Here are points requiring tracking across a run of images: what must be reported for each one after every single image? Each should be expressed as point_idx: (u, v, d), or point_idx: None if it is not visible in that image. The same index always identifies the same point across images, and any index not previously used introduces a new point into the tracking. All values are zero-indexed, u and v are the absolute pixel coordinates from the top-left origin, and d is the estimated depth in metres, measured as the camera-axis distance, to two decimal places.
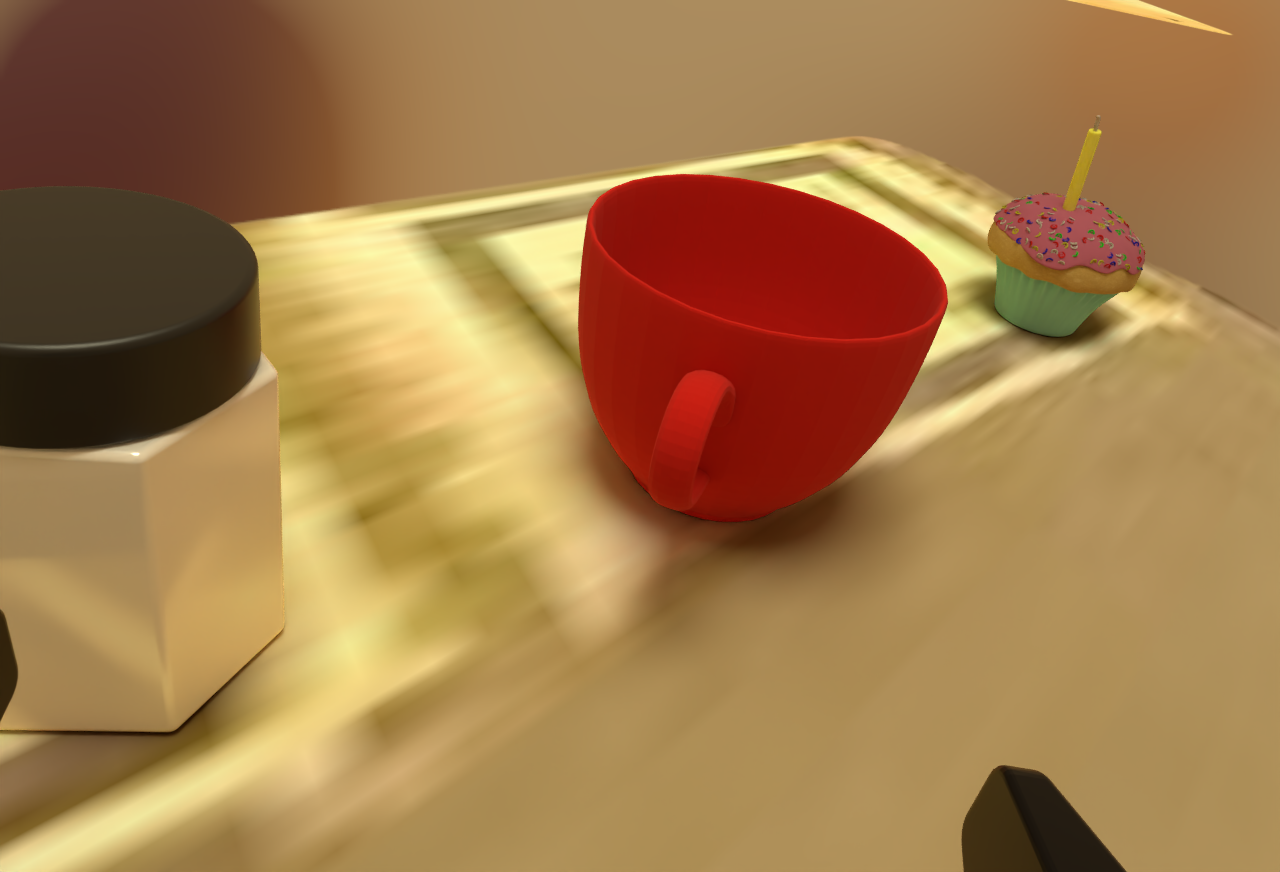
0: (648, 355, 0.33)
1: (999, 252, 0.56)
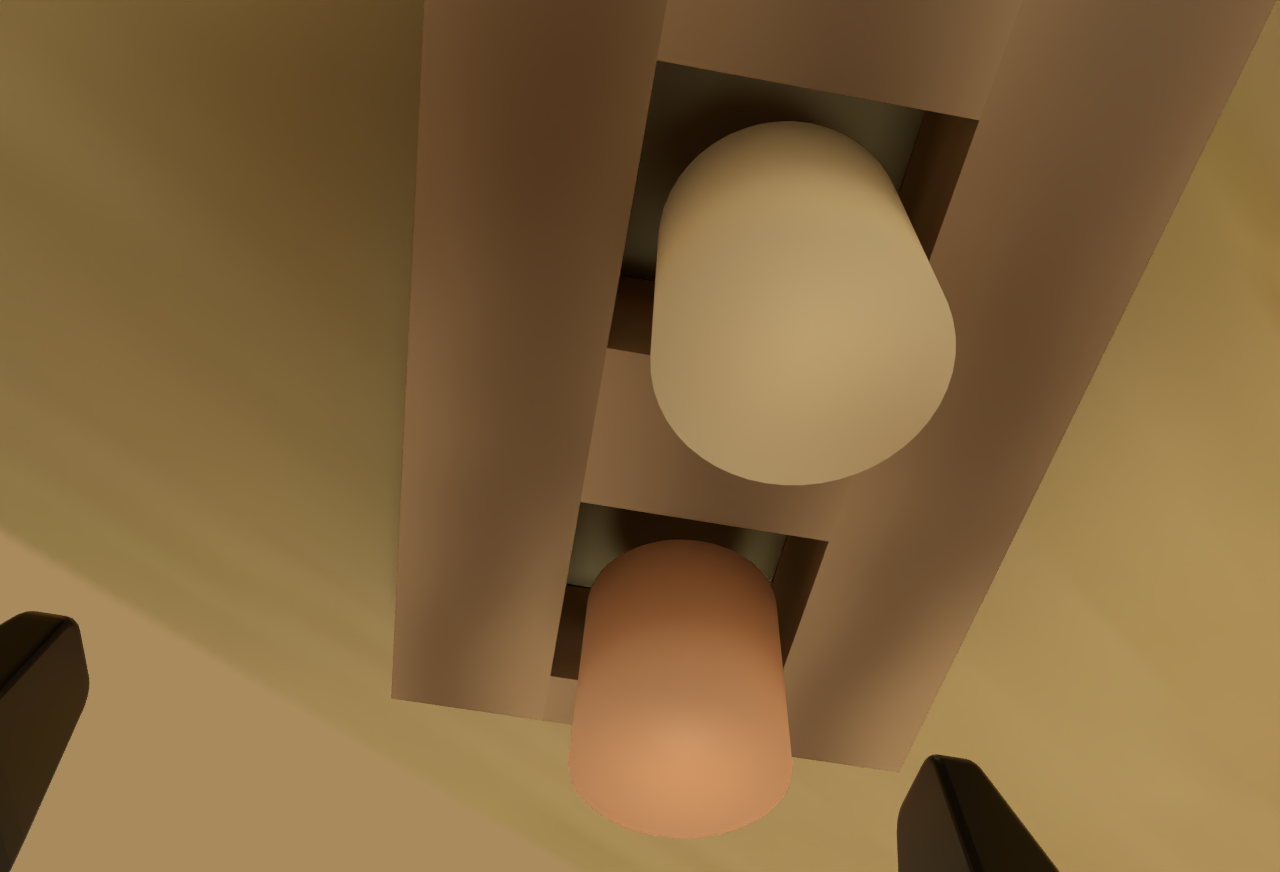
0: None
1: None
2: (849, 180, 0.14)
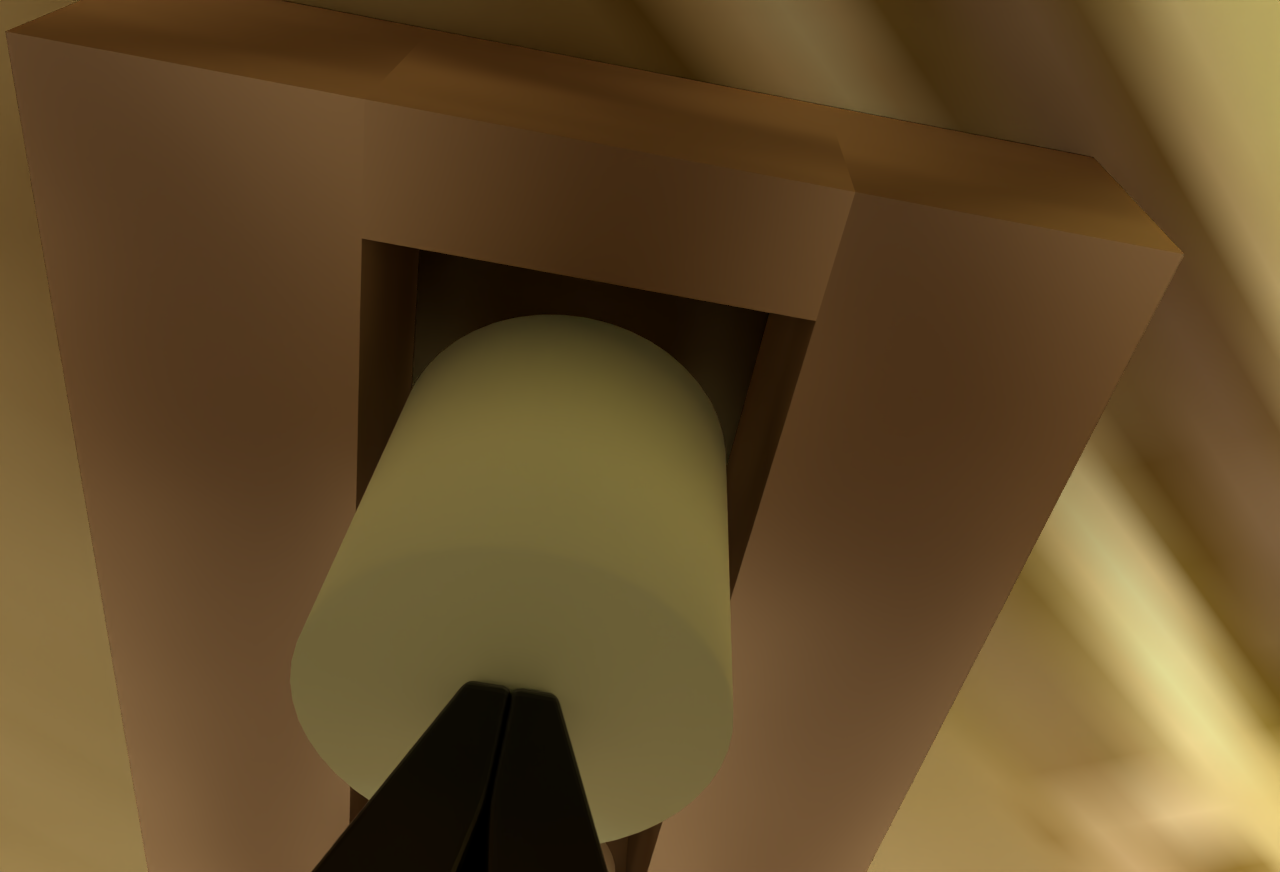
0: None
1: None
2: None
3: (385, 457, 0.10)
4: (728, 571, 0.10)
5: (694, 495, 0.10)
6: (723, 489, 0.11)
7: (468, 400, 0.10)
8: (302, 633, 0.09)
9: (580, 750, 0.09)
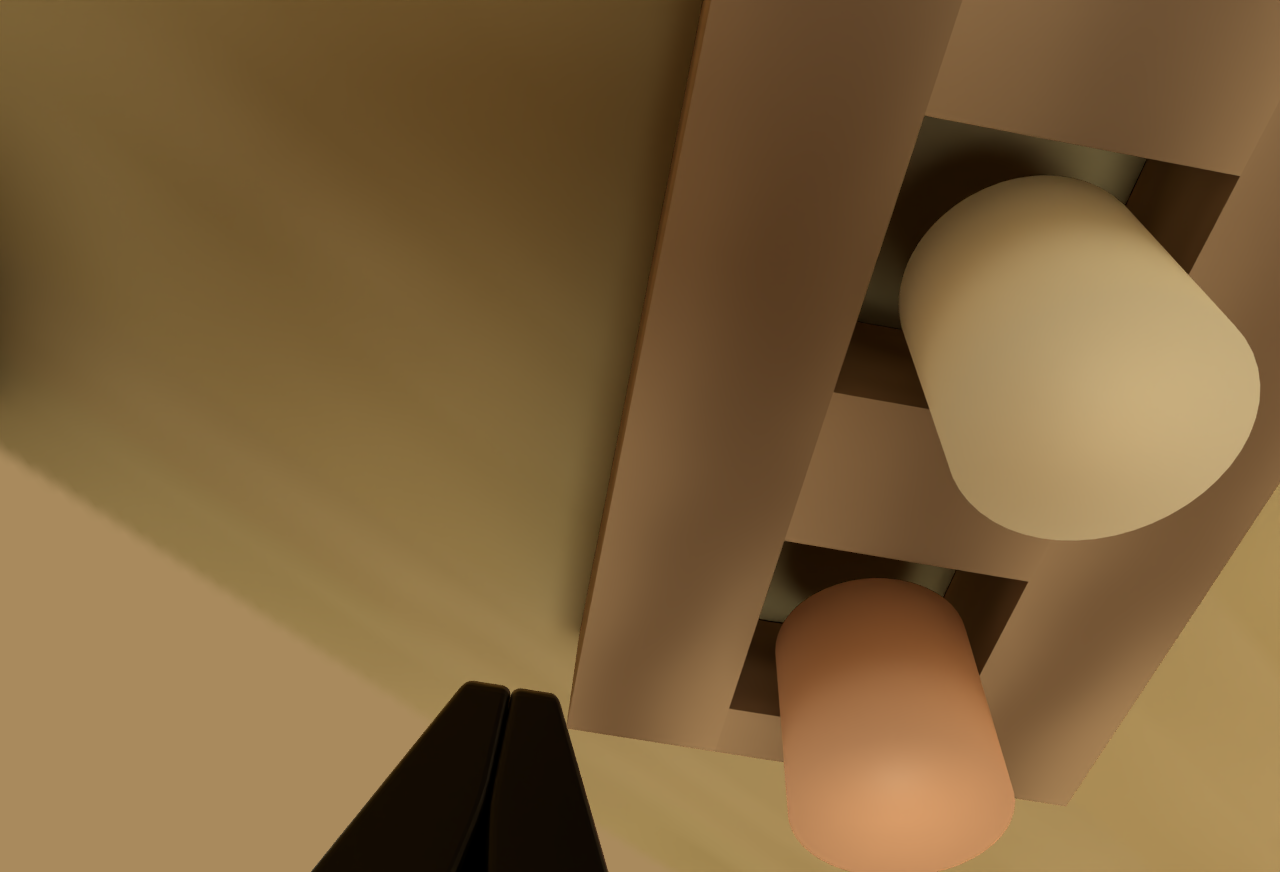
0: None
1: None
2: (1140, 241, 0.14)
3: None
4: None
5: None
6: None
7: None
8: None
9: None
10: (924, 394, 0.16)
